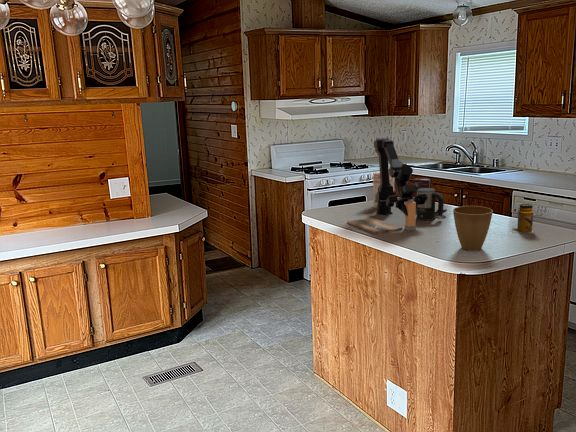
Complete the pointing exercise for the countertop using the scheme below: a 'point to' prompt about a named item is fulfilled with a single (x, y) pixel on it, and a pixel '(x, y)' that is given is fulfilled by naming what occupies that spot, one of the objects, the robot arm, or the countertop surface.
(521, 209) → the condiment
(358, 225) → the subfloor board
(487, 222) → the plant pot
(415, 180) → the supplement box
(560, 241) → the countertop surface
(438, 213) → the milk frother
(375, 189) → the coffeecake box
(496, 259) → the countertop surface
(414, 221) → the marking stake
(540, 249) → the countertop surface
